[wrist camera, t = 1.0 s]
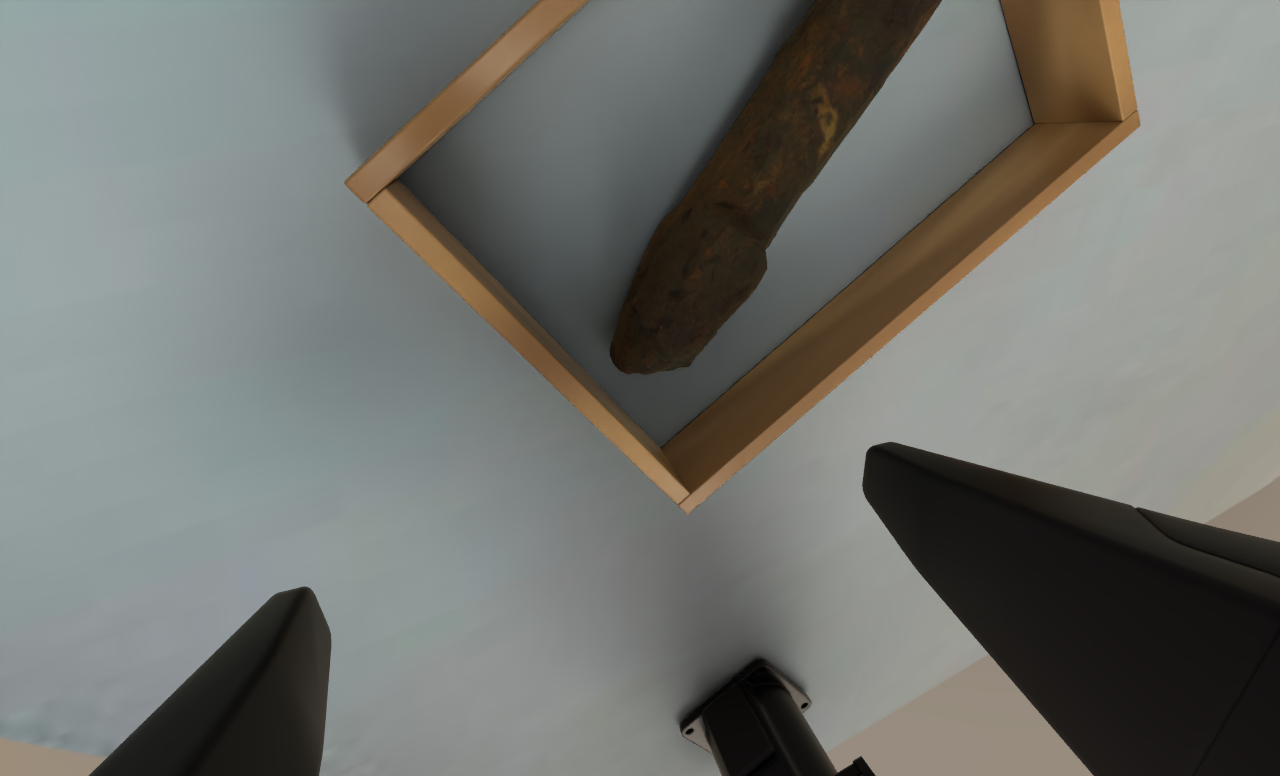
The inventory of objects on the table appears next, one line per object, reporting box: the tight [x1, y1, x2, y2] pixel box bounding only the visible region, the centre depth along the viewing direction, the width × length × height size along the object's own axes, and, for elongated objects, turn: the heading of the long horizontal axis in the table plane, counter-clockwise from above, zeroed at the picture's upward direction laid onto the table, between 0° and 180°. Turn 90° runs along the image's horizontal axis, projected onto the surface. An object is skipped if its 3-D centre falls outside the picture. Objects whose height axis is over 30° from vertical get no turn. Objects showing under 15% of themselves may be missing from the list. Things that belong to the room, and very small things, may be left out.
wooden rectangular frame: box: [345, 0, 1140, 514], centre depth 19 cm, size 16×22×4 cm
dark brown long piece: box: [610, 0, 942, 375], centre depth 18 cm, size 19×4×5 cm, turn 141°
